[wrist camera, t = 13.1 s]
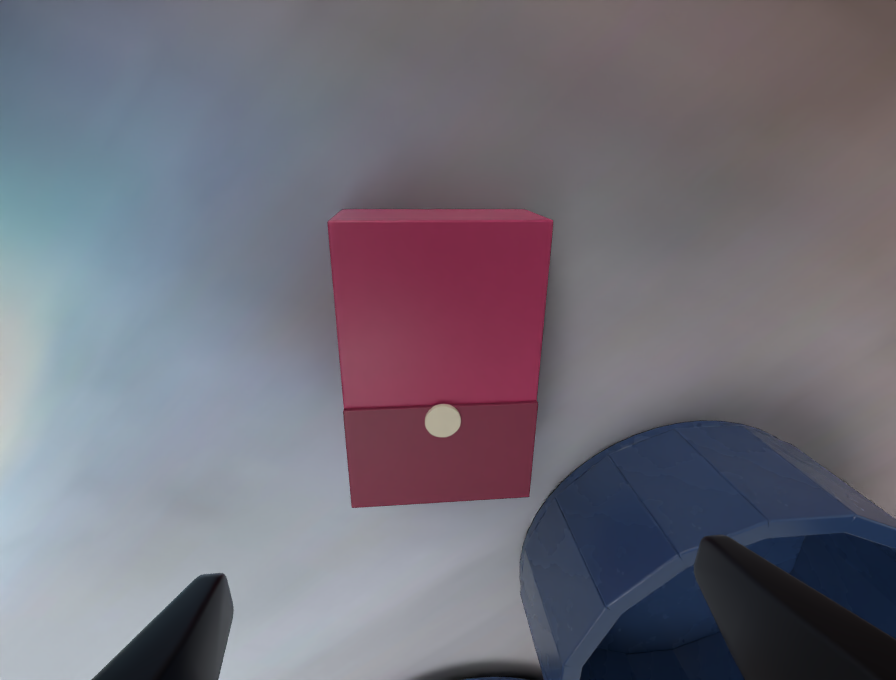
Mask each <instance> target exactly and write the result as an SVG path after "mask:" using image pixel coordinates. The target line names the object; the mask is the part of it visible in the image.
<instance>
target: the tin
mask: <svg viewBox="0 0 896 680" xmlns="http://www.w3.org/2000/svg"><path fill="white" fill-rule="evenodd" d="M710 535H725V536H728V537H730V538H732V539H733V540H735V541H736V542H738V543H740V544H741V545H743V546H745V547H746V548H748V549H749V550H751V551H753V552H754V553H756V554H758V555H759V556H761V557H763V558H764V559H766V560H767V561H769V562H771V563H772V564H774V565H776V566H777V567H779V568H780V569H782V570H784V571H785V572H787V573H789V574H790V575H792V576H794V577H795V578H797V579H798V580H800V581H802V582H803V583H805V584H807V585H808V586H810V587H811V588H813V589H815V590H816V591H818V592H820V593H821V594H823V595H825V596H826V597H828V598H829V599H831V600H833V601H834V602H836V603H838V604H839V605H841V606H842V607H844V608H846V609H847V610H849V611H851V612H852V613H854V614H856V615H857V616H859V617H860V618H862V619H864V620H865V621H867V622H869V623H870V624H872V625H873V626H875V627H877V628H878V629H880V630H882V631H883V632H885V633H887V634H888V635H890V636H891V637H893V638H895V639H896V519H894V518H893V517H892V516H890V515H889V514H888V513H886V512H885V511H883V510H882V509H881V508H879V507H878V506H876V505H875V504H874V503H872V502H871V501H870V500H868V499H867V498H865V497H864V496H863V495H861V494H860V493H859V492H857V491H856V490H854V489H853V488H852V487H850V486H849V485H847V484H846V483H845V482H843V481H842V480H841V479H839V478H838V477H836V476H835V475H834V474H832V473H831V472H830V471H828V470H827V469H825V468H824V467H823V466H821V465H820V464H818V463H817V462H816V461H814V460H813V459H812V458H810V457H809V456H807V455H806V454H805V453H803V452H802V451H800V450H799V449H798V448H796V447H795V446H793V445H792V444H789V443H787V442H784V441H781V440H779V439H778V438H777V437H775V436H773V435H771V434H769V433H767V432H765V431H762V430H760V429H757V428H754V427H751V426H747V425H744V424H739V423H732V422H725V421H693V422H683V423H677V424H672V425H667V426H663V427H658V428H655V429H652V430H649V431H646V432H643V433H640V434H637V435H634V436H632V437H630V438H628V439H625V440H623V441H621V442H619V443H616V444H614V445H613V446H611V447H609V448H607V449H606V450H604V451H602V452H600V453H599V454H597V455H595V456H594V457H592V458H591V459H590V460H588V461H587V462H586V463H584V464H583V465H581V466H580V467H579V468H577V469H576V470H575V471H574V472H573V473H572V474H571V475H569V476H568V477H567V478H566V479H565V480H564V481H563V482H562V483H561V484H560V485H559V486H558V487H557V488H556V489H555V490H554V492H553V493H552V494H551V495H550V496H549V497H548V498H547V500H546V501H545V503H544V504H543V506H542V507H541V508H540V510H539V511H538V513H537V514H536V516H535V518H534V520H533V522H532V524H531V526H530V528H529V530H528V532H527V535H526V538H525V541H524V544H523V547H522V553H521V559H520V582H521V592H520V593H521V598H522V602H523V605H524V609H525V613H526V616H527V620H528V624H529V627H530V631H531V634H532V638H533V642H534V645H535V649H536V653H537V656H538V660H539V663H540V667H541V671H542V674H543V678H544V680H745V679H744V677H743V675H742V674H741V672H740V670H739V668H738V666H737V664H736V663H735V661H734V659H733V657H732V655H731V653H730V651H729V649H728V647H727V644H726V642H725V640H724V638H723V636H722V634H721V632H720V630H719V627H718V625H717V623H716V621H715V619H714V617H713V615H712V613H711V611H710V608H709V606H708V604H707V602H706V600H705V598H704V596H703V594H702V592H701V589H700V587H699V585H698V583H697V581H696V578H695V575H694V563H695V559H696V556H697V552H698V549H699V545H700V542H701V539H702V538H703V537H704V536H710Z"/></svg>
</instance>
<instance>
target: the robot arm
mask: <svg viewBox="0 0 896 680" xmlns="http://www.w3.org/2000/svg"><path fill="white" fill-rule="evenodd" d="M694 575H695V578H696V581H697V583H698V585H699V587H700V589H701V592H702V594H703V596H704V598H705V600H706V602H707V604H708V606H709V608H710V611H711V613H712V615H713V617H714V619H715V621H716V623H717V625H718V627H719V630H720V632H721V634H722V636H723V638H724V640H725V642H726V644H727V647H728V649H729V651H730V653H731V655H732V657H733V659H734V661H735V663H736V664H737V666H738V668H739V670H740V672H741V674H742V675H743V677H744V679H745V680H896V639H895V638H893V637H891V636H890V635H888V634H887V633H885V632H883V631H882V630H880V629H878V628H877V627H875V626H873V625H872V624H870V623H869V622H867V621H865V620H864V619H862V618H860V617H859V616H857V615H856V614H854V613H852V612H851V611H849V610H847V609H846V608H844V607H842V606H841V605H839V604H838V603H836V602H834V601H833V600H831V599H829V598H828V597H826V596H825V595H823V594H821V593H820V592H818V591H816V590H815V589H813V588H811V587H810V586H808V585H807V584H805V583H803V582H802V581H800V580H798V579H797V578H795V577H794V576H792V575H790V574H789V573H787V572H785V571H784V570H782V569H780V568H779V567H777V566H776V565H774V564H772V563H771V562H769V561H767V560H766V559H764V558H763V557H761V556H759V555H758V554H756V553H754V552H753V551H751V550H749V549H748V548H746V547H745V546H743V545H741V544H740V543H738V542H736V541H735V540H733V539H732V538H730V537H728V536H725V535H710V536H704V537H703V538H702V539H701V542H700V545H699V549H698V552H697V556H696V559H695V563H694ZM232 619H233V602H232V598H231V594H230V589H229V585H228V581H227V578H226V576H225V575H224V574H223V573H215V574H203V575H200V576H199V577H197V578H196V579H195V580H193V581H192V582H191V583H190V584H189V585H188V586H187V587H186V588H185V589H184V590H183V591H182V592H181V593H180V594H179V595H178V596H177V597H176V598H175V599H174V600H173V601H172V602H171V603H170V604H169V605H168V606H167V607H166V608H165V609H164V610H163V611H162V612H161V613H160V614H159V615H158V616H156V617H155V618H154V619H153V620H152V621H151V622H150V623H149V624H148V625H147V626H146V627H145V628H144V629H143V630H142V631H141V632H140V633H139V634H138V635H137V636H136V637H135V638H134V639H133V640H132V641H131V642H130V643H129V644H128V645H127V646H126V647H125V648H124V649H123V650H122V651H121V652H120V653H118V654H117V655H116V656H115V657H114V658H113V659H112V660H111V661H110V662H109V663H108V664H107V665H106V666H105V667H104V668H103V669H102V670H101V671H100V672H99V673H98V674H97V675H96V676H95V677H94V678H93V679H92V680H218V678H219V674H220V670H221V666H222V661H223V657H224V653H225V649H226V645H227V640H228V636H229V632H230V628H231V624H232Z"/></svg>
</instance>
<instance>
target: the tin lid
mask: <svg viewBox="0 0 896 680" xmlns="http://www.w3.org/2000/svg"><path fill="white" fill-rule="evenodd" d="M463 680H528V679H520V678H512V677H482V678H470V679H463Z"/></svg>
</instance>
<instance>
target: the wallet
mask: <svg viewBox="0 0 896 680" xmlns="http://www.w3.org/2000/svg"><path fill="white" fill-rule="evenodd" d="M552 232H553V220H551V219H548V218H546V217H543V216H541V215H538V214H536V213H533V212H531V211H528V210H525V209H342V210H341V211H339V212H338V213H337V214H336V215H335V216H333V217H332V218H331V219H330V220H329V221H328V235H329V246H330V257H331V269H332V280H333V291H334V303H335V314H336V325H337V337H338V348H339V359H340V371H341V382H342V393H343V405H344V410H343V415H344V426H345V438H346V449H347V460H348V471H349V483H350V494H351V505H352V508H358V507H375V506H391V505H407V504H423V503H440V502H456V501H472V500H488V499H504V498H521V497H529V493H530V483H531V473H532V462H533V452H534V441H535V431H536V421H537V410H538V402H537V391H538V381H539V370H540V359H541V349H542V338H543V328H544V317H545V306H546V296H547V285H548V275H549V264H550V253H551V243H552Z"/></svg>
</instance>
